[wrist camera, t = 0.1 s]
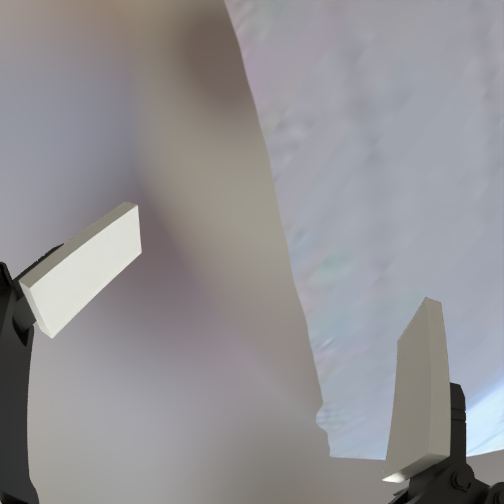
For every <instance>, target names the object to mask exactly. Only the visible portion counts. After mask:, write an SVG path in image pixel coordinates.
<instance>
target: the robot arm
mask: <svg viewBox="0 0 504 504" xmlns="http://www.w3.org/2000/svg"><path fill="white" fill-rule="evenodd" d="M140 254H141V242H140V230H139V217H138V205H136V204H133V203H129V202H124V203H122V204H121V205H119V206H118V207H116V208H115V209H113V210H112V211H110V212H109V213H107V214H106V215H105V216H103V217H102V218H100V219H99V220H97V221H96V222H94V223H93V224H91V225H90V226H89V227H87V228H86V229H84V230H83V231H82V232H80V233H79V234H77V235H76V236H75V237H73V238H72V239H71V240H70V241H68V242H67V243H65V244H61V245H59V246H57V247H55V248H53V249H51V250H50V251H49V252H48V253H46V254H45V256H42V257H41V258H40V259H38V261H36V262H34V263H33V264H32V265H31V266H29V267H28V268H27V269H26V270H24V271H23V272H22V273H21V274H20V275H18V276H17V277H16V278H15V279H13V280H12V278H11V276H10V273H9V271H8V268H7V266H6V264H5V263H3V262H0V501H1V503H2V504H39V499H38V495H37V492H36V489H35V488H34V486H33V484H32V483H31V480H30V477H29V467H28V450H27V402H28V384H29V371H30V361H31V352H32V343H33V336H34V326H33V324H34V323H35V322H36V321H37V323H38V325H39V327H40V329H41V331H43V332H44V333H45V334H46V335H48V336H49V337H51V338H53V337H54V336H55V335H56V334H57V333H58V332H59V331H60V330H61V329H62V328H63V327H64V326H65V325H66V324H67V323H68V322H69V321H70V320H71V319H72V318H73V317H74V316H75V315H76V314H77V313H78V312H79V311H80V310H81V309H82V308H83V307H84V306H85V305H86V304H87V303H88V302H89V301H90V300H91V299H92V298H93V297H94V296H95V295H96V294H97V293H99V291H100V290H102V289H103V288H104V287H105V286H106V285H107V284H108V283H109V282H110V281H111V280H112V279H113V278H114V277H115V276H117V275H118V274H119V273H120V272H121V271H122V270H123V269H124V268H125V267H126V266H127V265H128V264H130V263H131V262H132V261H133V260H134V259H135V258H136V257H137V256H138V255H140ZM465 410H466V407H465V396H464V394H463V391H462V389H461V386H460V385H459V384H455V383H450V380H449V365H448V354H447V344H446V335H445V327H444V320H443V313H442V306H441V302H439V301H436V300H433V299H430V298H427V297H425V299H424V300H423V302H422V304H421V305H420V307H419V309H418V310H417V312H416V314H415V315H414V317H413V318H412V320H411V322H410V323H409V325H408V326H407V328H406V329H405V331H404V332H403V334H402V335H401V337H400V338H399V340H398V346H397V366H396V381H395V393H394V403H393V412H392V421H391V429H390V436H389V442H388V449H387V455H386V461H385V466H384V472H383V477H382V480H384V481H391V482H398V483H402V482H404V481H406V480H408V479H410V482H409V487H407V488H405V489H402V490H400V491H398V492H396V493H395V494H393V495H394V496H397V495H398V496H397V497H396V498H394V499H393V500H392V501H391V502H390V503H389V504H504V482H499V483H496V484H494V485H492V486H489V485H487V484H485V483H483V482H481V481H479V480H477V479H475V477H474V472H473V470H472V468H471V467H470V466H469V465H468V464H467V463H466V423H465V421H466V413H465Z"/></svg>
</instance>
